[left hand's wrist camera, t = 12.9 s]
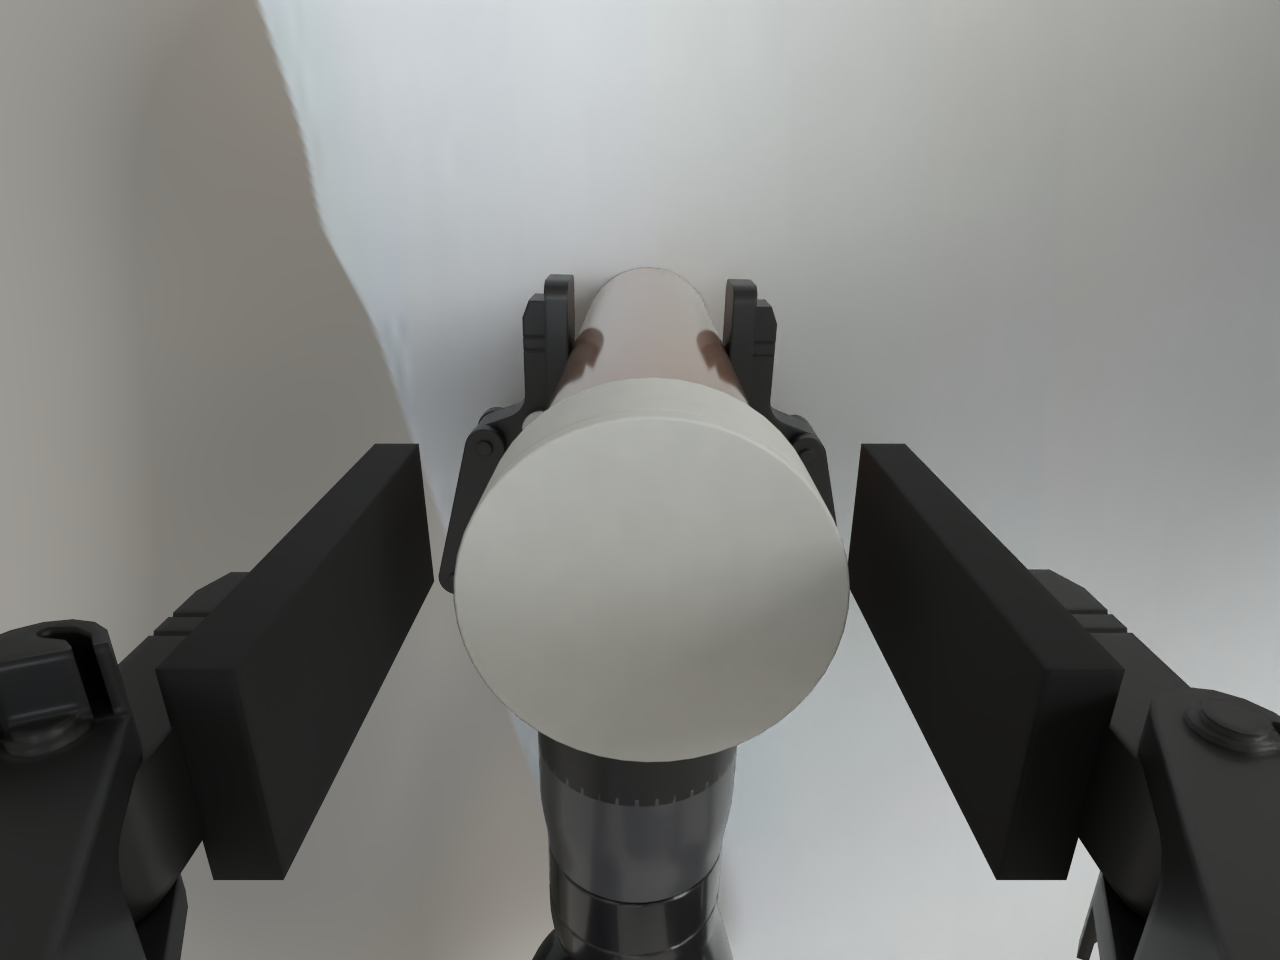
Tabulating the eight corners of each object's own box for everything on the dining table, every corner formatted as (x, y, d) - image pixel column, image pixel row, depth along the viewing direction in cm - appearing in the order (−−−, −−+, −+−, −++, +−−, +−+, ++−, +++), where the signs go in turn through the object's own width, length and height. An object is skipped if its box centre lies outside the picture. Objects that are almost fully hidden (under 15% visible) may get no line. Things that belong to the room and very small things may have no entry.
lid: (512, 694, 14) (492, 777, 12) (450, 397, 12) (414, 439, 10) (823, 667, 14) (852, 747, 12) (815, 358, 12) (848, 395, 10)
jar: (593, 398, 31) (517, 736, 12) (577, 274, 29) (458, 453, 10) (714, 385, 30) (819, 710, 12) (705, 260, 29) (810, 417, 10)
